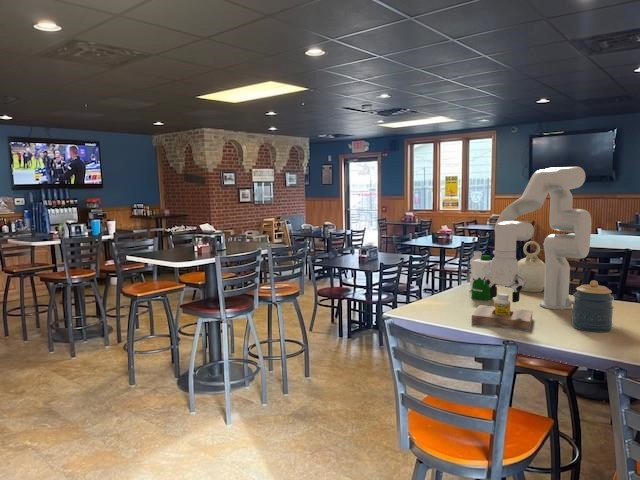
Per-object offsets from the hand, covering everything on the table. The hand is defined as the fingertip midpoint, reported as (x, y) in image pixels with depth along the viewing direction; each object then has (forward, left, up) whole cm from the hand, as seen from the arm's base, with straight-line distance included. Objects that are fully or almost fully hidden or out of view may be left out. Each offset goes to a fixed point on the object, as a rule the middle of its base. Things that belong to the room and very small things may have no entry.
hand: (504, 299), depth 181 cm
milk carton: (+13, -38, -9) cm, 42 cm away
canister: (-30, -5, -9) cm, 31 cm away
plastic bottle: (+18, -55, -9) cm, 59 cm away
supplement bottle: (0, +1, -8) cm, 8 cm away
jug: (-6, -70, -9) cm, 71 cm away
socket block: (0, +1, -9) cm, 9 cm away
